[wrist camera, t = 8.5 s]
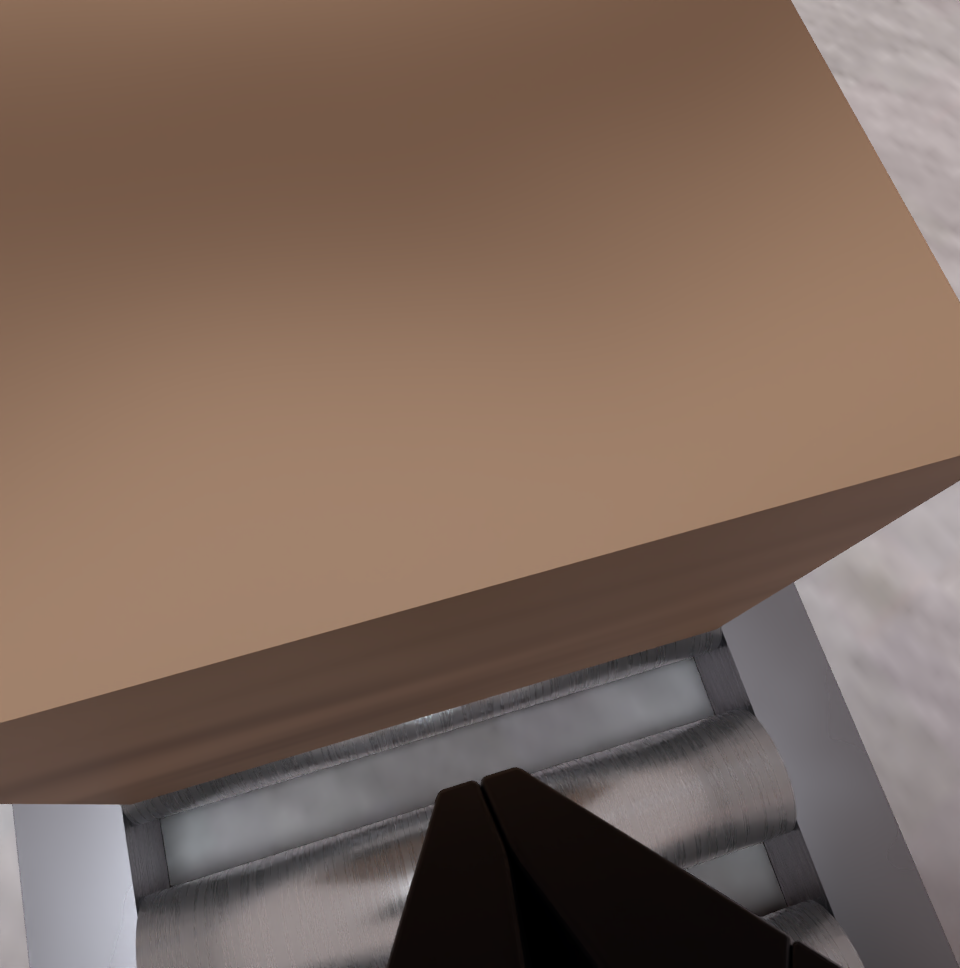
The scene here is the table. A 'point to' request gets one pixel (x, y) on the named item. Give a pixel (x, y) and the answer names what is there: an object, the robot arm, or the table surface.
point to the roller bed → (587, 781)
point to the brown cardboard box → (424, 360)
